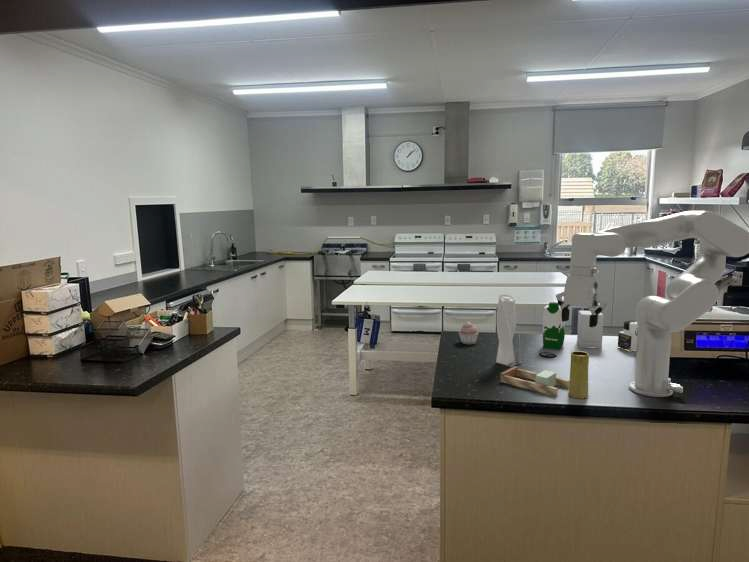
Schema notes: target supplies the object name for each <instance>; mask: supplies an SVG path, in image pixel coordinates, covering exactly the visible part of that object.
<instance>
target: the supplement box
mask: <svg viewBox="0 0 749 562" xmlns="http://www.w3.org/2000/svg"><path fill="white" fill-rule="evenodd" d="M577 313H578V315H577V316H578V317H577V332H576V333H577V335H576V339H577V340H576V344H579V345H578V346H579V348H580V347H595V348H594V349H600V348H602V349H603V334H604V333H603V332H604V331H603V330H604V314H603V313H602V312H601V313H600V314H598V322H597V325H596V326H595V327H589V321H590V315H592V313H591V312H590V310H578V312H577Z"/></svg>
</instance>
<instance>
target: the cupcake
mask: <svg viewBox="0 0 749 562" xmlns="http://www.w3.org/2000/svg"><path fill="white" fill-rule="evenodd" d="M475 325H476V324H475ZM475 325H474V324H473V323H471V321H467V322H465V323H464V324H463V325H462V326H461V328H460V330H459V332H458V336H459V337H460V340H461V341H460V342H461V343H462V344H464V345H474V344H476V342H477V338H478V335H479V334H480V332H479V331H478V330H477V327H476V326H475Z"/></svg>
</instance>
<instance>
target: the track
mask: <svg viewBox="0 0 749 562" xmlns="http://www.w3.org/2000/svg"><path fill="white" fill-rule="evenodd" d="M537 374H539V373H538V372H534V371H530V370H526V369H521V368H519V366H518V365H516V366H513V367H509V368H508V369H507V370H505V371H502V372H500V380H499V382H500V383H502V382H503V383H504V384H506V383H507V385H510V384H511V386H515V387H518V388H523V389H527V390H529V389H530V390H531V391H533V390H534V391H533V392H537V391H538V393H543V394H546V395H549V394H550V396H553V395H554V397H558V393H559V392H558V391H559V389H558V387H560V386H562V387H561V388H565V387H566V389H569V381H570V379H565V378H560V377H557V376H556V385H557V387H555V386H556V385H555V386H554V387H551V386H547V385H543V384H539V383H535V377H536V375H537ZM519 377H520V378H519ZM521 378H522V379H521ZM523 378H524V379H523ZM525 379H526V380H525ZM527 379H528V380H527ZM531 379H532V381H531ZM533 381H534V382H533ZM530 390H529V391H530Z"/></svg>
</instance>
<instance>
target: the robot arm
mask: <svg viewBox="0 0 749 562" xmlns="http://www.w3.org/2000/svg"><path fill="white" fill-rule="evenodd" d="M688 239H699V242H698V243H699V254H698V257H697V259H696V260H695V262H694V263H692V264H691V265H690V266H689V267H688V268H686V269H685V270H683V271H682V272H681V273H680V274H679V275H677V276H676V277H675V278H673V279H672V280H671V281H670V282H669V283H668V284H667V286H666V288H665V294H666V296H667V297H668V298H665V297H662V296H658V295H648V296H645V297H643V298H642V299H640V301H639V302H638V303H637V305H636V309H635V317H636V318H635V319H636V322H637V327H638V336H637V351H635V353H636V354H635V370H634V381H631V382H629V384H628V386H629V387H628V388H629V389H630V390H631V391H632V392H634V393H636V394H639V395H642V396H647V397H653V398H654V397H655V398H667V397H670V396H672V395H673V392H676V393H681V394H682V393H683V391H684V387H683V386H681V384H677V383H673V382H672V381H671V380H672V379H671V377H669V373H670V357H671V356H670V354H671V348H672V347H671V345H672V343H671V342H672V339H671V337H672V336H671V333H678V332H680V331H682V330H684V329H686V328H687V327H689V326H690V325H691V324H692V323H694V322H695V321H697V320H699V318H701V317H702V316H703V315H704V314H706V313H707V312H709V310H711V309H712V308H713V307H714V306H715V305H716V303H717V301H718V298H719V288H718V287H717V285H716V284H715V283H717V282H718V281H719V280H720V279H721V278H722V276H723V275H724V273H725V271H726V262H727V261H726V259H727V257H731V258H740V257H745V256H746V255H748V254H749V230H746V229H745V228H744V227H741V226H740V225H738V224H736V223H734V222H733V221H731V220H729V219H727V218H725V217H724V216H722V215H720V214H718V213H716V212H713V211H710V210H686V211H682V212H677V213H673V214H670V215H665V216H662V217H657V218H654V219H653V218H652V219H648V220H644V221H639V222H636V223H635V222H634V223H629V224H623V225H621V226H615V227H610V228H607V229H603V230H600V231H596V232H594V233H593V232H576V233H574V234H572V236H571V249H570V263H569V274H567V276H566V281H565V285H564V289H563V290H564V291H561V292H560V293H556V294H555V299H556V301H557V303H558V304H559V306H560V308H561V309H562V315H561V317H562V321H563V322H564V321H565V322H567V321H569V320H570V308H569V307H570V306H571V307H572V306H573V307H578V308H584V309H588V311H590V312H591V313H592V315H590V321H589V327H595V326H596V325H597V322H598V314H600V313H601V314H602V312H603V311H604V310H605V308H606V307H607V306H608V302H607V301H605V300H604V299H603V298H602V297H600V285H599V278H598V276H596V274H597V275H598V274H599V272H600V270H599V269H597V256H604V257H609V258H614V257H618V256H621V255H622V254H623V253H624V252H625V251H626V249H628V248H651V247H659V246H663V245H666V244H670V243H674V242H678V241H683V240H688ZM598 306H599V307H598Z"/></svg>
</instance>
